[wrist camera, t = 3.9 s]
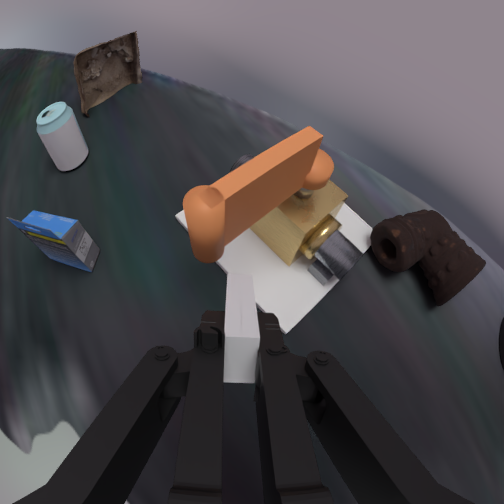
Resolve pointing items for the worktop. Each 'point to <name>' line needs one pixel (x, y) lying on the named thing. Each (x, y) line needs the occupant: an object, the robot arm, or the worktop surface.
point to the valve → (308, 230)
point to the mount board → (285, 270)
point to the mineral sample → (107, 69)
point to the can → (62, 136)
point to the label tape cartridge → (60, 239)
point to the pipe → (427, 251)
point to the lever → (253, 192)
